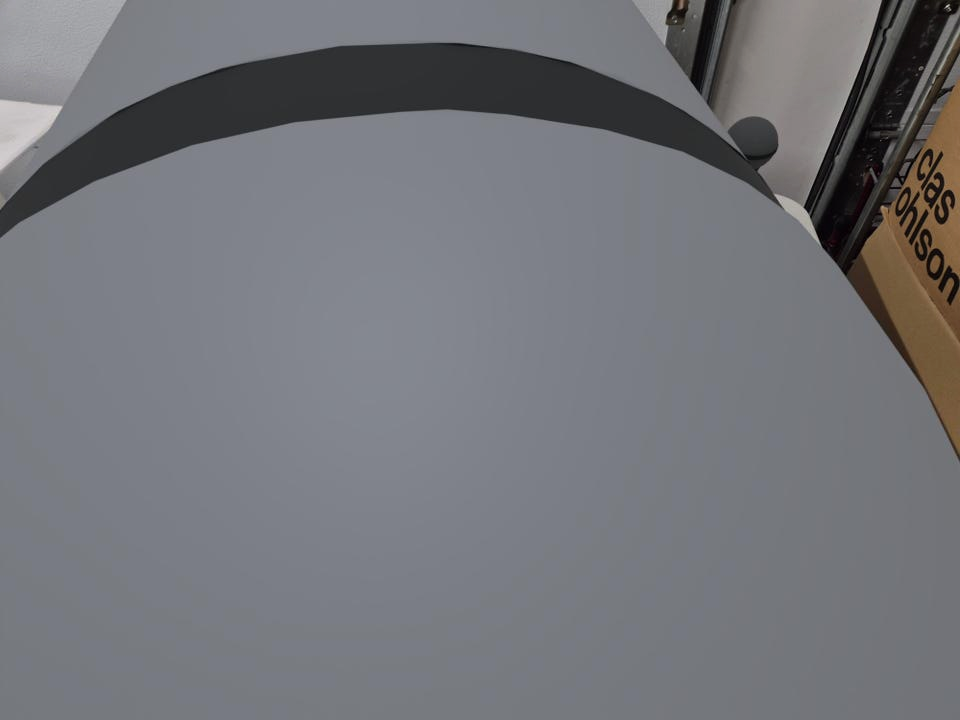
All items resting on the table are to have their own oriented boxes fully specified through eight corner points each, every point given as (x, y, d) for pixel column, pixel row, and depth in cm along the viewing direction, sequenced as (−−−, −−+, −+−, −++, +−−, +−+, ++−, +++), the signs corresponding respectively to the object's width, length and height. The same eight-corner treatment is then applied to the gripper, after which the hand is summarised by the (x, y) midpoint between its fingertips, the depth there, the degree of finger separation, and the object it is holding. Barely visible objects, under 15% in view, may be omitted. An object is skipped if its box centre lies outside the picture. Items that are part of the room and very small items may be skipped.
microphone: (685, 238, 92) (719, 111, 76) (725, 229, 92) (766, 102, 77) (707, 266, 87) (747, 138, 72) (749, 257, 88) (797, 128, 73)
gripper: (482, 706, 51) (325, 545, 61) (646, 500, 62) (491, 392, 72) (477, 685, 45) (305, 511, 55) (659, 463, 57) (489, 351, 66)
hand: (410, 444), depth 64 cm, fingers open, 13 cm apart
